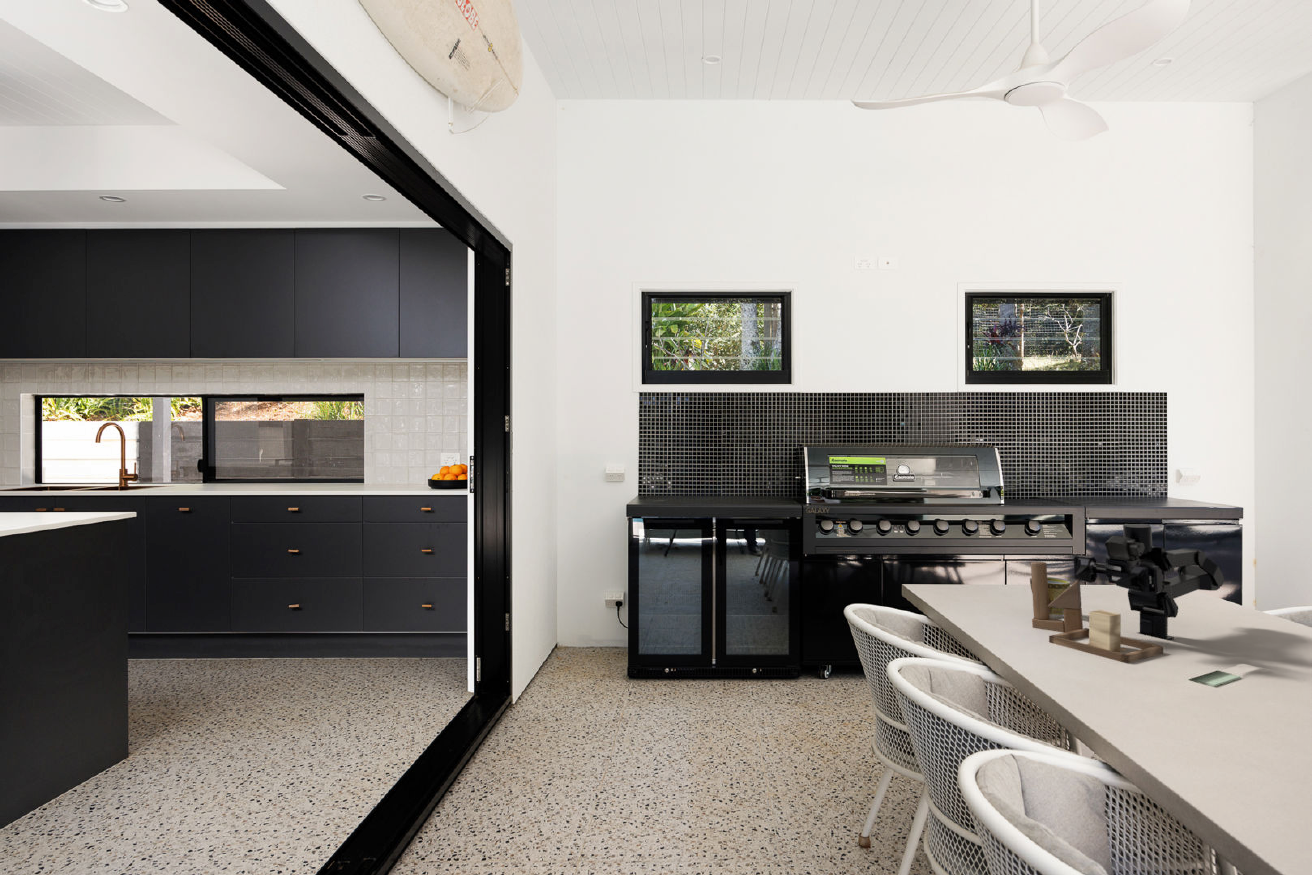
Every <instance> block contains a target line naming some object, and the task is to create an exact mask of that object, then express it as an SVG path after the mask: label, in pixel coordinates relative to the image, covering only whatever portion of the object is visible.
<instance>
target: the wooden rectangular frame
mask: <svg viewBox="0 0 1312 875" xmlns="http://www.w3.org/2000/svg"><path fill="white" fill-rule="evenodd" d="M1084 637H1089V627H1085V628H1084V627H1083V629H1080V630H1075V631H1070V632H1065V633H1063V632H1060V633H1055V634H1052V635H1049V636H1048V643H1049V644H1053V645H1054V644H1055V645H1057V646H1061V647H1065V648H1068V649H1072V650H1076V651H1080V652H1084V653H1088V654H1090V655H1094V656H1099V657H1101V658H1106V659H1109V660H1113V661H1117V662H1120V663H1124V664H1128V663H1131V662H1135V661H1140V660H1144V659H1147V658H1150V657H1154V656H1158V655H1163V654H1164V646H1163V645H1157V644H1154V643H1149V642H1146V641H1143V640H1142V641H1141V640H1139V639H1138V640H1137V639H1134V638H1129V637H1125V636H1121V645H1124V646H1127V647H1131V648H1134V649H1135V648H1136V649H1138V650H1134V651H1131V652H1126V651H1130V649H1129V648H1124V647H1121V649H1118V650H1114V651H1110V650H1106V649H1102V648H1098V647H1095V646H1091V645H1089V643H1082V642H1078V641H1075V640H1076V639H1079V638H1080V639H1081V638H1084ZM1123 652H1126V653H1123Z"/></svg>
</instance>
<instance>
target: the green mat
mask: <svg viewBox="0 0 1312 875" xmlns="http://www.w3.org/2000/svg"><path fill="white" fill-rule="evenodd" d="M1239 679H1241V676H1240V675H1237V674H1232V673H1228V672H1225V671H1221V670H1215V671H1211V672H1208V673H1205V674H1201V675H1198V676H1196V677H1191V678H1189V679H1187V680H1188V681H1191V682H1194V683H1198V684H1202V685H1206V686H1209V685H1210V686H1209V687H1213V686H1214V687H1213V688H1215V686H1216V687H1218V685H1219V686H1221V685H1220V684H1222V685H1224V684H1228V683H1230V682H1234V681H1237V680H1239ZM1233 680H1234V681H1233Z"/></svg>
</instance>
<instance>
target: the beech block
mask: <svg viewBox="0 0 1312 875" xmlns="http://www.w3.org/2000/svg"><path fill="white" fill-rule="evenodd" d="M1088 615H1089V617H1088V619H1089V620H1088V621H1089V622H1088V629H1089V636H1088V644H1089V645H1091V646H1095V647H1098V648H1102V649H1106V650H1110V651H1114V650H1118V649H1121V648H1122V647H1121V645H1122V644H1121V637H1122V633H1121V630H1122V629H1121V628H1122V627H1121V626H1122V625H1121V622H1122V615H1121V613H1117V612H1113V611H1108V610H1104V609H1103V610H1102V609H1097V610H1092V611H1089V612H1088Z"/></svg>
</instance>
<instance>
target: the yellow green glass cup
mask: <svg viewBox="0 0 1312 875" xmlns="http://www.w3.org/2000/svg"><path fill="white" fill-rule="evenodd" d="M1047 581H1048V598H1049V604H1050V603H1051V602H1052V601H1053V600H1054V599H1056V598H1057V597H1058V596H1059V595H1060V594H1062V593H1063V592H1064V591H1065V590H1066V589H1067V588H1069V587H1070V586H1071V581H1070V580H1067V579H1066V578H1060V577H1053V576H1047ZM1029 583H1030V584H1029V585H1030V590H1031V591H1032V576H1031V577H1029ZM1063 609H1064V608H1059V607H1049V615H1050V618H1055V619H1062V618H1064V611H1063Z"/></svg>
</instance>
